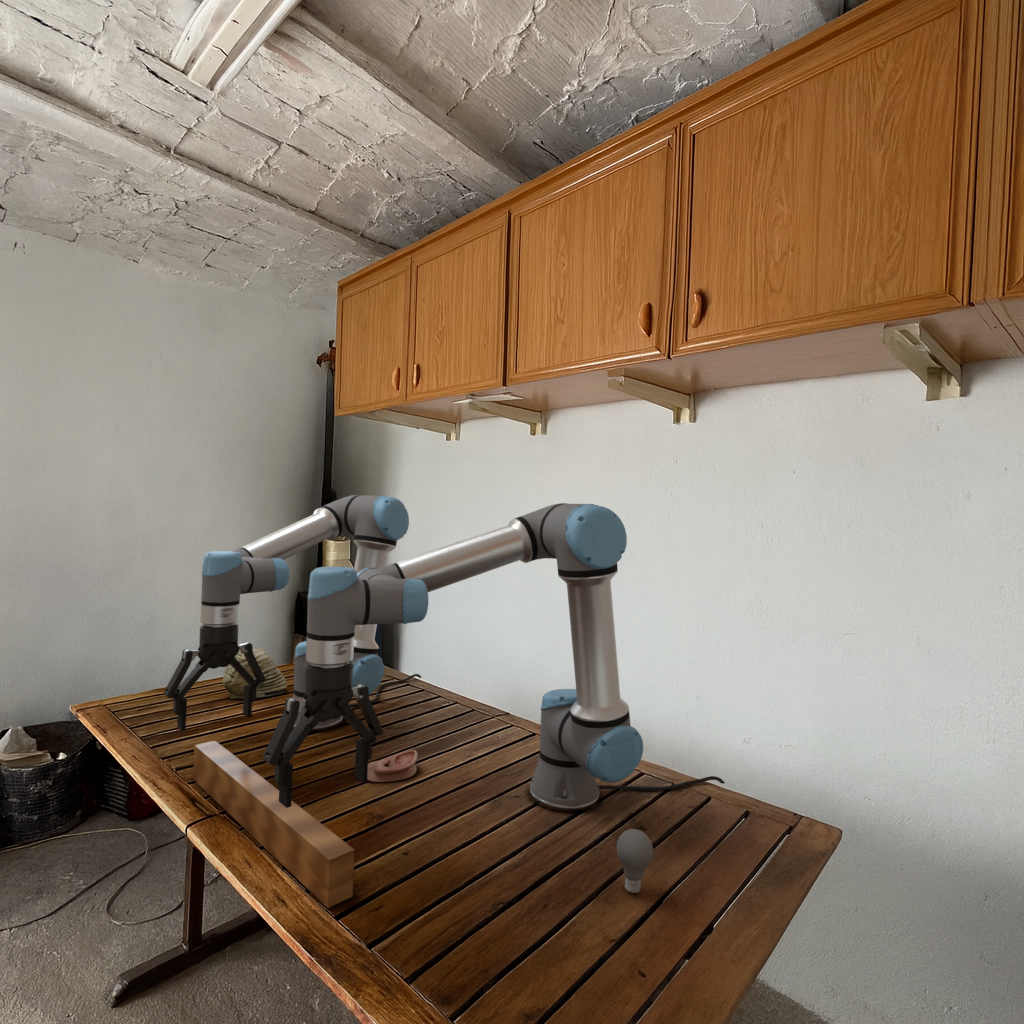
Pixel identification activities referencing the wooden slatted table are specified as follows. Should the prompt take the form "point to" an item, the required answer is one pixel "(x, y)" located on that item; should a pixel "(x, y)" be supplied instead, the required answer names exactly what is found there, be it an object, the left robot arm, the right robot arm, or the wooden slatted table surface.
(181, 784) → the wooden slatted table surface
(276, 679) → the fossil
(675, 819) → the wooden slatted table surface
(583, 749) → the right robot arm
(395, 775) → the anatomical model
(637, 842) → the light bulb
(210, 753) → the beam
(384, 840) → the wooden slatted table surface
